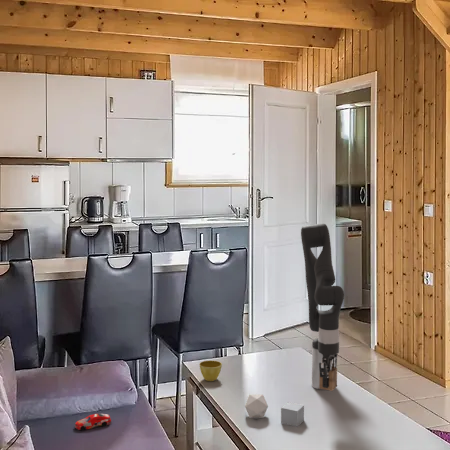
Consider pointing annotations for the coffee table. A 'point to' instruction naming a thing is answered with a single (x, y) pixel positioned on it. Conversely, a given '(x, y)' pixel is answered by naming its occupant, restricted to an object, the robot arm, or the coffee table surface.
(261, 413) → the die
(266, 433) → the coffee table surface
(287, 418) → the grey block
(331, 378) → the walnut block
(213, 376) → the flower pot
